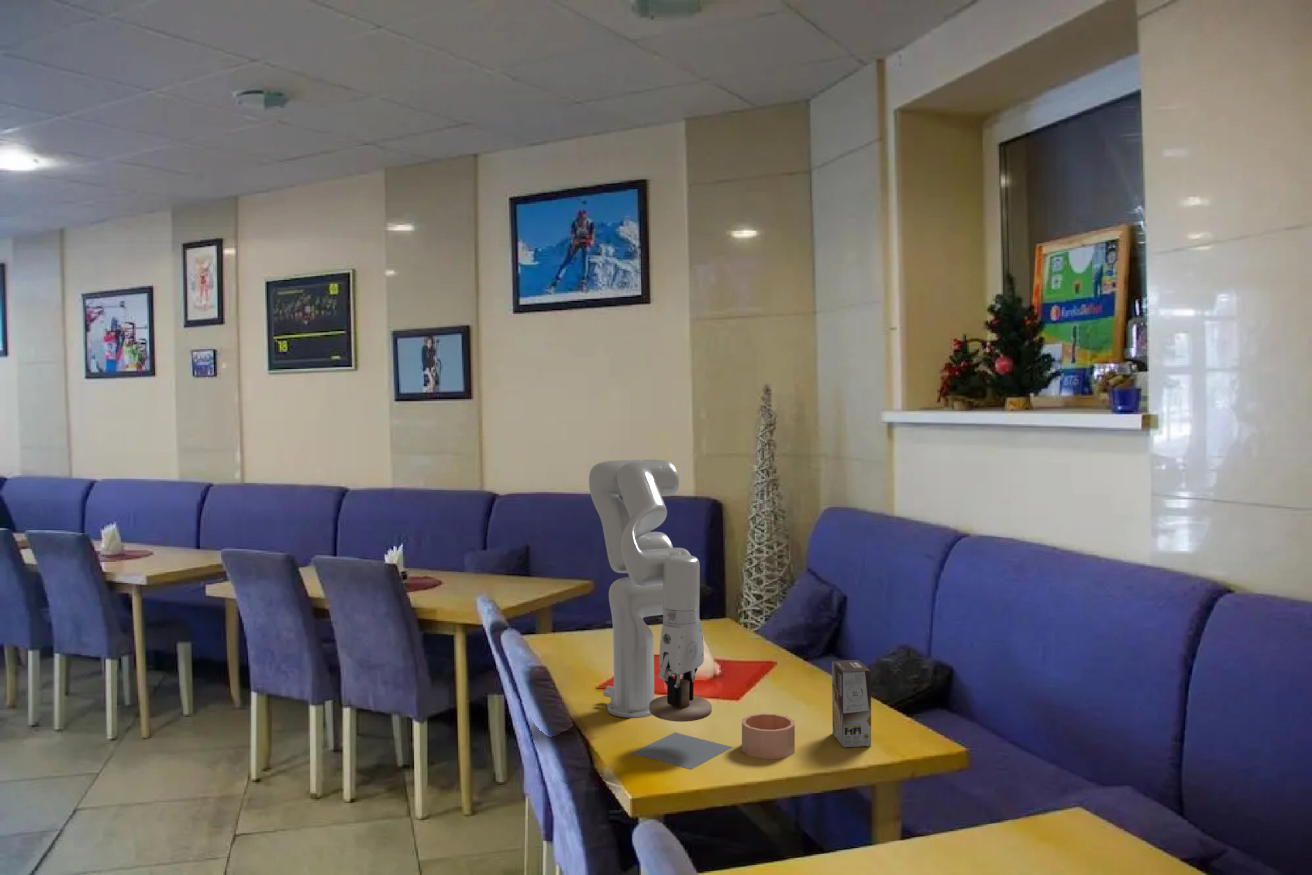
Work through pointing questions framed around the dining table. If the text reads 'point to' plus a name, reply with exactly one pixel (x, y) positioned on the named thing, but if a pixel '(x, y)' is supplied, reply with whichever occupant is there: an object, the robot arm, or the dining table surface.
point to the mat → (682, 750)
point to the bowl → (768, 736)
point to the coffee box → (851, 703)
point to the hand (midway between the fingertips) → (680, 701)
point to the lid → (681, 707)
